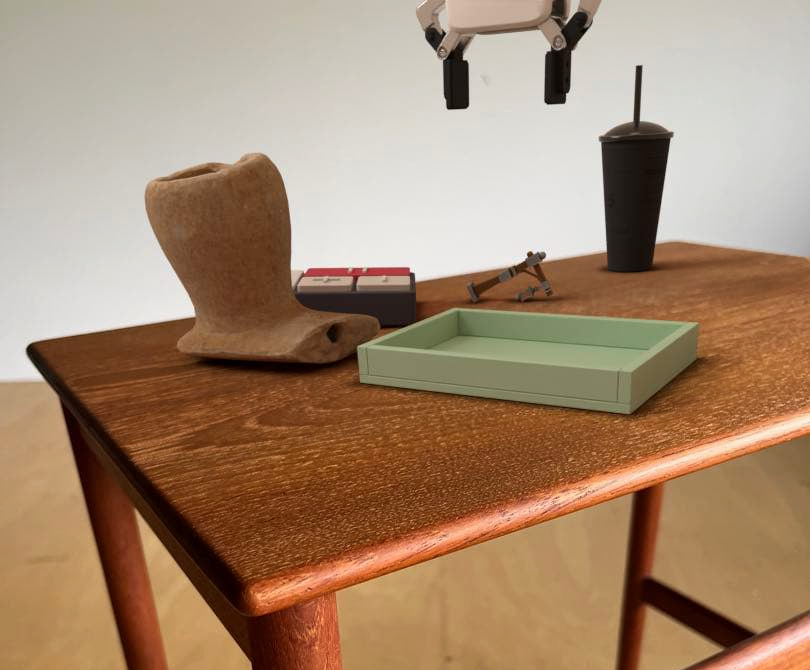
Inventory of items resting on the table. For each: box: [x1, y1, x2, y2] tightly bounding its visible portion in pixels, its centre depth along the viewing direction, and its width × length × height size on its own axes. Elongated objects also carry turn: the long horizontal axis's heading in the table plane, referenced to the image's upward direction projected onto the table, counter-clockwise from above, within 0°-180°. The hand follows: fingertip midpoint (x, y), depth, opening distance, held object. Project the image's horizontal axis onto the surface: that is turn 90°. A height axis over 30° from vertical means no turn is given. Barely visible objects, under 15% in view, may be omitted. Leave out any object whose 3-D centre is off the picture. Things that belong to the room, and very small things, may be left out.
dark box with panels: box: [291, 266, 417, 327], centre depth 82 cm, size 11×4×15 cm
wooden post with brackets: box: [465, 250, 554, 303], centre depth 85 cm, size 2×8×4 cm, turn 74°
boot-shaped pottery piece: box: [144, 152, 381, 365], centre depth 66 cm, size 15×12×15 cm
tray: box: [356, 307, 700, 415], centre depth 61 cm, size 20×14×3 cm
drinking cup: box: [598, 64, 675, 273], centre depth 94 cm, size 8×8×20 cm
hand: (505, 106), depth 79 cm, fingers open, 9 cm apart
